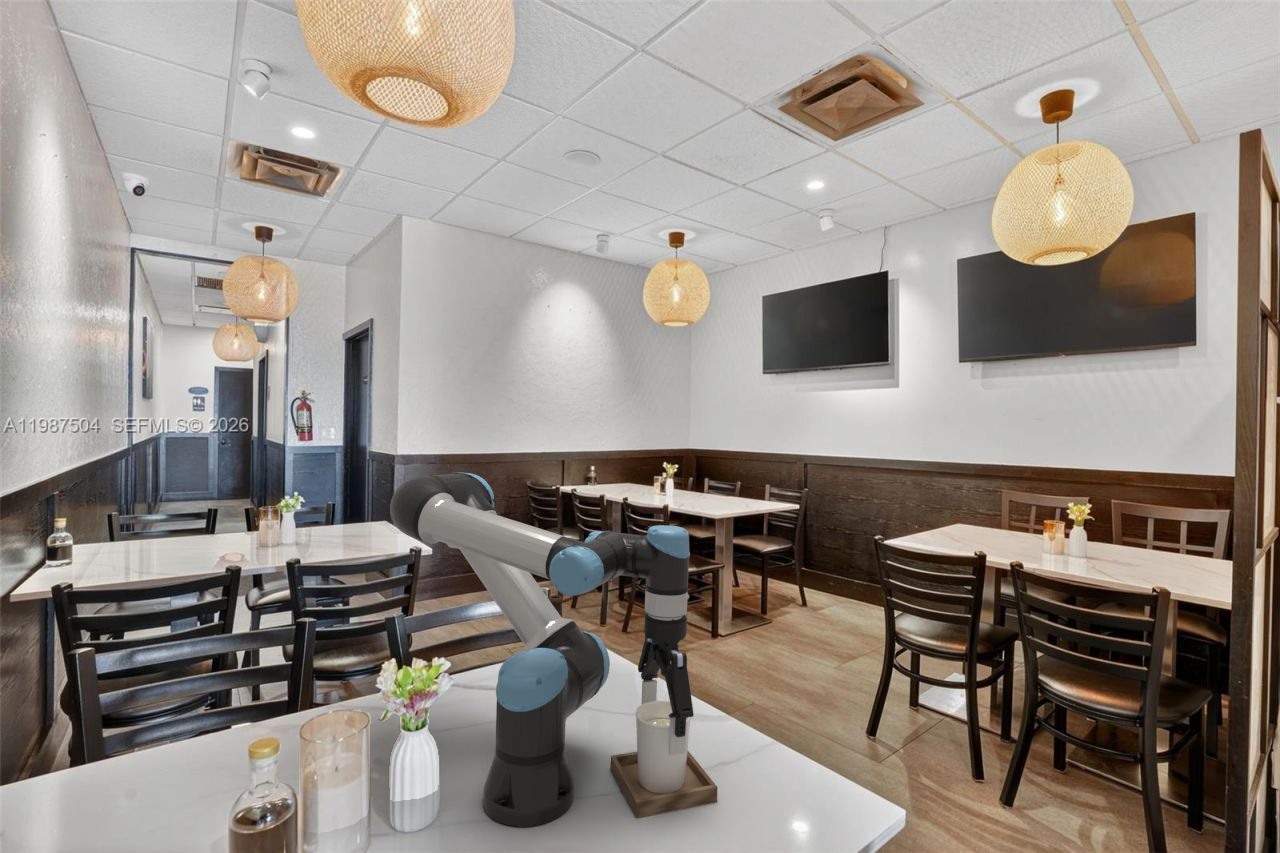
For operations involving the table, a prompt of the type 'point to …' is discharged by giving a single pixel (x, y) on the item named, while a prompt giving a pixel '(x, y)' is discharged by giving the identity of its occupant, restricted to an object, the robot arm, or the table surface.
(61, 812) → the table surface
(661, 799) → the tray
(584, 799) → the table surface
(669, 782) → the candle holder
